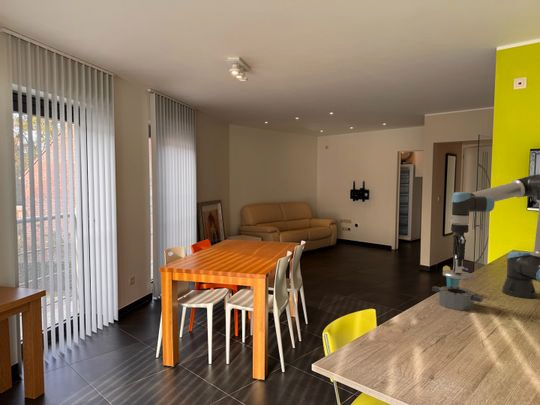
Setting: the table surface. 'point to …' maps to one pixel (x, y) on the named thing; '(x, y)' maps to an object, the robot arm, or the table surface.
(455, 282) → the cup
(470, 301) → the pot
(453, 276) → the lid
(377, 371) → the table surface
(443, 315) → the table surface
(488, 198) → the robot arm
